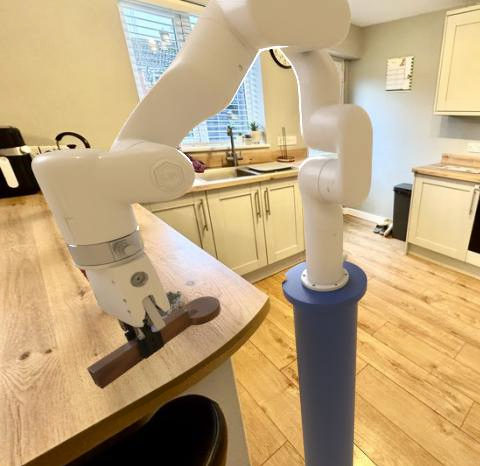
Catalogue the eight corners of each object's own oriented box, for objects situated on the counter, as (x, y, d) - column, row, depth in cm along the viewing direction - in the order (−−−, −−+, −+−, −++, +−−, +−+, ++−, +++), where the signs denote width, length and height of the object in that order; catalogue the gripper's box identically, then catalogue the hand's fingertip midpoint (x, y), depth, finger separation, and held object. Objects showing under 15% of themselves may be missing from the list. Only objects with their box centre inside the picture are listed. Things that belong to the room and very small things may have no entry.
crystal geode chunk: (174, 332, 57) (169, 315, 55) (130, 339, 55) (124, 322, 53) (186, 300, 66) (182, 285, 64) (149, 305, 64) (144, 290, 62)
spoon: (111, 396, 39) (103, 379, 37) (86, 378, 41) (77, 362, 40) (228, 308, 55) (225, 294, 54) (205, 299, 58) (201, 286, 57)
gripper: (174, 245, 38) (203, 349, 46) (107, 226, 44) (142, 320, 52) (111, 273, 32) (157, 387, 39) (43, 246, 38) (94, 349, 46)
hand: (148, 348), depth 46 cm, fingers closed on spoon
